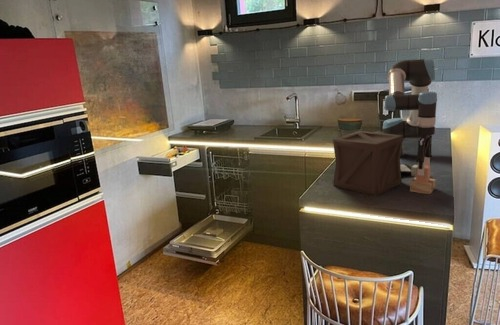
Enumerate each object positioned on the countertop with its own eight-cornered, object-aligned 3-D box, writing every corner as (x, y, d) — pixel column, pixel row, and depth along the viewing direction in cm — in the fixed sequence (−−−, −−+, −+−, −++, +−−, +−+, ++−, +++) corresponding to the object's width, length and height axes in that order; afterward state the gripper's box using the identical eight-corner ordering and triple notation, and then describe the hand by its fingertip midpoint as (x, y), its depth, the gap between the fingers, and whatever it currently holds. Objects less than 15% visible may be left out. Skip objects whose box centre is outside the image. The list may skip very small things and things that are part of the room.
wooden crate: (359, 174, 215) (358, 130, 208) (402, 182, 197) (403, 134, 190) (333, 186, 199) (332, 139, 192) (377, 196, 181) (378, 144, 174)
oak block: (415, 186, 191) (415, 176, 190) (434, 189, 185) (435, 179, 184) (409, 191, 184) (410, 181, 183) (429, 194, 179) (430, 184, 177)
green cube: (413, 173, 210) (414, 164, 208) (423, 174, 207) (424, 165, 205) (411, 175, 206) (411, 167, 204) (421, 177, 203) (421, 168, 201)
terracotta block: (418, 178, 187) (419, 164, 185) (429, 179, 184) (430, 165, 182) (415, 181, 183) (416, 167, 181) (426, 182, 180) (427, 168, 178)
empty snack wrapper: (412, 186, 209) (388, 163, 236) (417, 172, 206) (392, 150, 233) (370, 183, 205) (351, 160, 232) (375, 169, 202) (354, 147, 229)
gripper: (423, 121, 186) (421, 166, 192) (410, 129, 171) (408, 177, 177) (440, 122, 182) (437, 167, 188) (428, 130, 166) (425, 179, 172)
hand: (423, 172), depth 182 cm, fingers open, 8 cm apart
